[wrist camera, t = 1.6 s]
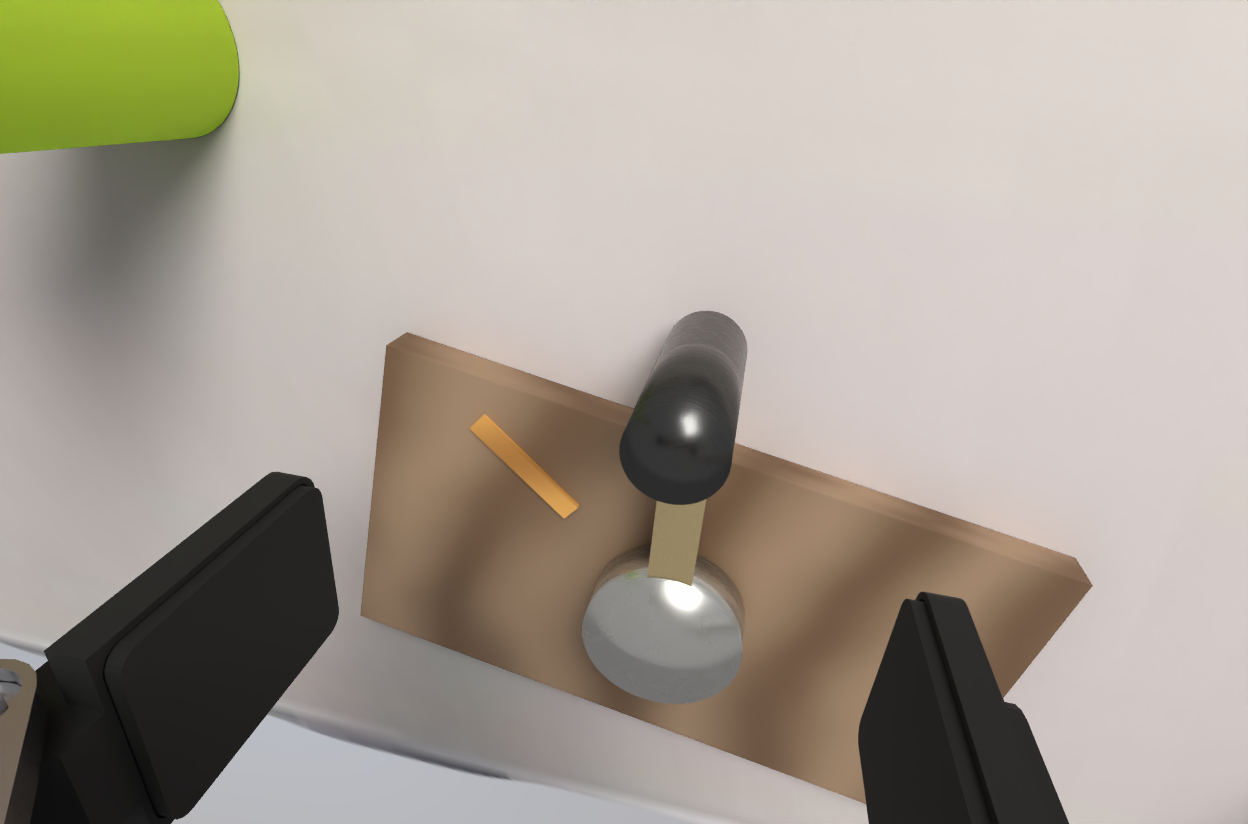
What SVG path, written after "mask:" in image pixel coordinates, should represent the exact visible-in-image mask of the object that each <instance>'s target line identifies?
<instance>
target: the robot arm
mask: <svg viewBox="0 0 1248 824" xmlns="http://www.w3.org/2000/svg"><path fill="white" fill-rule="evenodd" d="M338 615H339V607H338V600H337V593H336V587H335V580H334V573H333V566H332V560H331V553H330V546H329V539H328V533H327V526H326V519H325V512H324V506H323V499H322V494H321V492H320V490H319V489H317V488H315V487H314V484H313V482H312V481H311V479H309V478H307V477H302V476H297V475H292V474H286V473H281V472H271V473H270V474H268V475H266V476H265V477H264V478H262V479H261V480H260V481H259V482H257V483H256V484H255V485H254V486H252V487H251V488H250V489H248V490H247V491H246V492H245V493H243V494H242V495H241V496H240V497H238V498H237V499H236V500H235V501H233V502H232V503H231V504H229V505H228V506H227V507H226V508H224V509H223V510H222V511H221V512H219V513H218V514H217V515H216V516H214V517H213V518H212V519H210V520H209V521H208V522H207V523H205V524H204V525H203V526H202V527H200V528H199V529H198V530H197V531H195V532H194V533H193V534H191V535H190V536H189V537H188V538H186V539H185V540H184V541H183V542H181V543H180V544H179V545H177V546H176V547H175V548H174V549H172V550H171V551H170V552H169V553H167V554H166V555H165V556H164V557H162V558H161V559H160V560H158V561H157V562H156V563H155V564H153V565H152V566H151V567H150V568H148V569H147V570H146V571H145V572H143V573H142V574H141V575H139V576H138V577H137V578H136V579H134V580H133V581H132V582H131V583H129V584H128V585H127V586H126V587H124V588H123V589H122V590H120V591H119V592H118V593H117V594H115V595H114V596H113V597H112V598H110V599H109V600H108V601H107V602H105V603H104V604H103V605H101V606H100V607H99V608H98V609H96V610H95V611H94V612H93V613H91V614H90V615H89V616H88V617H86V618H85V619H84V620H82V621H81V622H80V623H79V624H77V625H76V626H75V627H74V628H72V629H71V630H70V631H68V632H67V633H66V634H65V635H63V636H62V637H61V638H60V639H58V640H57V641H56V642H55V643H53V644H52V645H51V646H49V647H48V648H47V649H46V650H44V652H45V655H46V657H47V659H48V661H47V662H46V663H45V664H43V665H42V666H41V667H40V668H38V669H37V670H36V671H34V669H33V668H32V667H31V666H30V665H29V664H27V663H24V662H21V661H19V660H16V659H0V824H171V823H172V822H173V820H174V819H179V818H182V817H184V816H185V815H187V814H188V813H189V812H190V811H191V810H192V808H194V806H195V805H196V804H197V802H198V801H199V800H200V799H201V797H202V796H203V795H204V793H205V792H206V791H207V790H208V789H209V787H210V786H211V785H212V783H213V782H214V781H215V779H216V778H217V777H218V776H219V775H220V773H221V772H222V771H223V769H224V768H225V767H226V766H227V764H228V763H229V762H230V761H231V759H232V758H233V756H235V754H236V753H237V752H238V750H239V749H240V748H241V746H242V745H243V744H244V743H245V742H246V740H247V739H248V738H249V737H250V735H251V734H252V733H253V731H254V730H255V729H256V728H257V726H258V725H259V724H260V722H261V721H262V720H263V719H264V718H265V716H266V715H267V714H268V712H269V711H270V710H271V709H272V707H273V706H274V705H275V704H276V702H277V701H278V700H279V698H280V697H281V696H282V695H283V693H284V692H285V691H286V690H287V688H288V687H289V686H290V685H291V683H292V682H293V681H294V679H295V678H296V677H297V676H298V674H299V673H300V672H301V671H302V669H303V668H304V667H305V666H306V664H307V663H308V662H309V660H310V659H311V658H312V657H313V655H314V654H315V653H316V652H317V650H318V649H319V648H320V646H321V645H322V644H323V643H324V641H325V640H326V639H327V638H328V636H329V635H330V634H331V632H332V631H333V629H334V627H335V625H336V623H337V620H338ZM858 747H859V754H860V762H861V769H862V776H863V784H864V791H865V798H866V805H867V813H868V820H869V824H1069V822H1068V820H1067V817H1066V815H1065V812H1064V810H1063V807H1062V805H1061V802H1060V800H1059V798H1058V795H1057V793H1056V790H1055V788H1054V785H1053V783H1052V780H1051V778H1050V775H1049V773H1048V771H1047V768H1046V766H1045V763H1044V761H1043V758H1042V756H1041V753H1040V751H1039V748H1038V746H1037V744H1036V741H1035V739H1034V736H1033V734H1032V731H1031V729H1030V726H1029V724H1028V721H1027V719H1026V718H1025V716H1024V714H1023V712H1022V710H1021V709H1020V708H1018V707H1017V706H1016V705H1015V704H1012V703H1007V702H1004V700H1003V698H1002V695H1001V692H1000V690H999V687H998V684H997V682H996V679H995V677H994V674H993V671H992V669H991V666H990V664H989V661H988V658H987V656H986V653H985V650H984V648H983V645H982V643H981V640H980V637H979V635H978V632H977V630H976V627H975V624H974V622H973V619H972V616H971V614H970V611H969V609H968V606H967V604H966V602H965V601H964V600H963V599H961V598H956V597H951V596H945V595H940V594H934V593H929V592H924V591H923V592H920V593H919V594H918V595H917V597H916V599H915V600H912V599H905V600H904V601H903V603H902V605H901V608H900V610H899V613H898V616H897V619H896V622H895V624H894V627H893V630H892V633H891V636H890V638H889V641H888V644H887V647H886V650H885V652H884V655H883V658H882V661H881V664H880V666H879V669H878V672H877V675H876V678H875V680H874V683H873V686H872V689H871V692H870V694H869V697H868V700H867V703H866V706H865V708H864V711H863V714H862V717H861V720H860V724H859V731H858Z"/></svg>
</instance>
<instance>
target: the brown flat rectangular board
mask: <svg viewBox="0 0 1248 824" xmlns="http://www.w3.org/2000/svg"><path fill="white" fill-rule="evenodd" d="M633 411H634V409H632V408H629V407H626V406H623V405H620V404H617V403H614V402H611V401H608V400H605V399H602V398H600V397H597V396H594V395H591V394H588V393H585V392H582V391H579V390H576V389H573V388H570V387H567V386H564V385H561V384H558V383H555V382H552V381H549V380H546V379H543V378H540V377H537V376H534V375H531V374H528V373H525V372H523V371H520V370H517V369H514V368H511V367H508V366H505V365H502V364H499V363H496V362H493V361H490V360H487V359H484V358H481V357H478V356H475V355H472V354H469V353H466V352H463V351H460V350H457V349H454V348H451V347H449V346H446V345H443V344H440V343H437V342H434V341H431V340H428V339H425V338H422V337H419V336H416V335H413V334H410V333H405V334H403V335H402V336H400V337H399V338H397V339H396V340H394V341H393V342H391V343H389V344H388V345H386V355H385V366H384V376H383V387H382V397H381V407H380V418H379V428H378V439H377V449H376V459H375V470H374V480H373V490H372V501H371V511H370V522H369V532H368V542H367V553H366V563H365V574H364V584H363V594H362V605H361V616H364V617H366V618H369V619H372V620H374V621H377V622H380V623H382V624H385V625H388V626H390V627H393V628H396V629H398V630H401V631H404V632H406V633H409V634H412V635H414V636H417V637H420V638H423V639H425V640H428V641H431V642H433V643H436V644H439V645H441V646H444V647H447V648H449V649H452V650H455V651H457V652H460V653H463V654H465V655H468V656H471V657H474V658H476V659H479V660H482V661H484V662H487V663H490V664H492V665H495V666H498V667H500V668H503V669H506V670H508V671H511V672H514V673H516V674H519V675H522V676H525V677H527V678H530V679H533V680H535V681H538V682H541V683H543V684H546V685H549V686H551V687H554V688H557V689H559V690H562V691H565V692H567V693H570V694H573V695H575V696H578V697H581V698H584V699H586V700H589V701H592V702H594V703H597V704H600V705H602V706H605V707H608V708H610V709H613V710H616V711H618V712H621V713H624V714H626V715H629V716H632V717H635V718H637V719H640V720H643V721H645V722H648V723H651V724H653V725H656V726H659V727H661V728H664V729H667V730H669V731H672V732H675V733H677V734H680V735H683V736H685V737H688V738H691V739H694V740H696V741H699V742H702V743H704V744H707V745H710V746H712V747H715V748H718V749H720V750H723V751H726V752H728V753H731V754H734V755H736V756H739V757H742V758H745V759H747V760H750V761H753V762H755V763H758V764H761V765H763V766H766V767H769V768H771V769H774V770H777V771H779V772H782V773H785V774H787V775H790V776H793V777H795V778H798V779H801V780H804V781H806V782H809V783H812V784H814V785H817V786H820V787H822V788H825V789H828V790H830V791H833V792H836V793H838V794H841V795H844V796H846V797H849V798H852V799H855V800H857V801H860V802H863V803H865V804H866V798H865V791H864V784H863V776H862V769H861V762H860V754H859V747H858V731H859V724H860V720H861V717H862V714H863V711H864V708H865V706H866V703H867V700H868V697H869V694H870V692H871V689H872V686H873V683H874V680H875V678H876V675H877V672H878V669H879V666H880V664H881V661H882V658H883V655H884V652H885V650H886V647H887V644H888V641H889V638H890V636H891V633H892V630H893V627H894V624H895V622H896V619H897V616H898V613H899V610H900V608H901V605H902V603H903V601H904V600H905V599H912V600H915V599H916V597H917V595H918V594H919V593H920V592H923V591H924V592H929V593H934V594H940V595H945V596H951V597H956V598H961V599H963V600H964V601H965V602H966V604H967V606H968V609H969V611H970V614H971V616H972V619H973V622H974V624H975V627H976V630H977V632H978V635H979V637H980V640H981V643H982V645H983V648H984V650H985V653H986V656H987V658H988V661H989V664H990V666H991V669H992V671H993V674H994V677H995V679H996V682H997V684H998V687H999V690H1000V692H1001V695H1002V698H1004V697H1005V695H1006V694H1007V693H1008V691H1009V690H1010V689H1011V688H1012V686H1013V685H1014V684H1015V683H1016V681H1017V680H1018V679H1019V678H1020V676H1021V675H1022V674H1023V673H1024V671H1025V670H1026V669H1027V668H1028V666H1029V665H1030V664H1031V663H1032V661H1033V660H1034V659H1035V657H1036V656H1037V655H1038V654H1039V652H1040V651H1041V650H1042V649H1043V647H1044V646H1045V645H1046V644H1047V642H1048V641H1049V640H1050V639H1051V637H1052V636H1053V635H1054V634H1055V632H1056V631H1057V630H1058V629H1059V627H1060V626H1061V625H1062V623H1063V622H1064V621H1065V620H1066V618H1067V617H1068V616H1069V615H1070V613H1071V612H1072V611H1073V610H1074V608H1075V607H1076V606H1077V605H1078V603H1079V602H1080V601H1081V600H1082V598H1083V597H1084V596H1085V594H1086V593H1087V592H1088V591H1089V589H1090V588H1091V587H1092V586H1093V585H1092V584H1091V582H1090V581H1089V579H1088V577H1087V576H1086V574H1085V573H1084V571H1083V569H1082V568H1081V566H1080V564H1079V563H1078V561H1077V560H1076V558H1073V557H1070V556H1067V555H1064V554H1061V553H1059V552H1056V551H1053V550H1050V549H1047V548H1044V547H1041V546H1038V545H1035V544H1032V543H1029V542H1026V541H1023V540H1020V539H1017V538H1014V537H1011V536H1008V535H1005V534H1002V533H999V532H996V531H993V530H990V529H987V528H984V527H982V526H979V525H976V524H973V523H970V522H967V521H964V520H961V519H958V518H955V517H952V516H949V515H946V514H943V513H940V512H937V511H934V510H931V509H928V508H925V507H922V506H919V505H916V504H913V503H910V502H907V501H905V500H902V499H899V498H896V497H893V496H890V495H887V494H884V493H881V492H878V491H875V490H872V489H869V488H866V487H863V486H860V485H857V484H854V483H851V482H848V481H845V480H842V479H839V478H836V477H833V476H831V475H828V474H825V473H822V472H819V471H816V470H813V469H810V468H807V467H804V466H801V465H798V464H795V463H792V462H789V461H786V460H783V459H780V458H777V457H774V456H771V455H768V454H765V453H762V452H759V451H756V450H754V449H751V448H748V447H745V446H742V445H739V444H736V443H734V450H733V457H732V464H731V469H730V473H729V476H728V478H727V480H726V482H725V483H724V485H723V486H722V487H721V488H720V489H719V490H718V491H717V492H716V493H715V494H714V495H712V496H711V497H709V498H707V501H706V507H705V513H704V519H703V525H702V531H701V537H700V543H699V549H698V554H699V555H701V556H703V557H705V558H707V559H708V560H710V561H712V562H713V563H715V564H716V565H717V566H718V567H720V568H721V569H722V570H723V571H724V572H725V573H726V574H727V575H728V576H729V577H730V578H731V579H732V581H733V582H734V583H735V585H736V587H737V588H738V590H739V592H740V594H741V597H742V600H743V604H744V609H745V621H744V634H743V648H742V658H741V664H740V667H739V670H738V672H737V674H736V676H735V678H734V679H733V680H732V681H731V683H730V684H729V685H728V686H727V687H726V688H725V689H723V690H722V691H720V692H719V693H717V694H716V695H714V696H712V697H710V698H707V699H704V700H701V701H697V702H692V703H684V704H668V703H660V702H654V701H650V700H647V699H643V698H640V697H638V696H635V695H633V694H630V693H628V692H626V691H624V690H623V689H621V688H619V687H618V686H616V685H615V684H613V683H612V682H611V681H610V680H608V679H607V678H606V677H605V676H604V675H603V674H602V673H601V672H600V671H599V670H598V669H597V668H596V666H595V665H594V664H593V662H592V661H591V659H590V658H589V656H588V653H587V651H586V649H585V646H584V643H583V637H582V624H583V619H584V616H585V613H586V610H587V608H588V605H589V602H590V600H591V597H592V594H593V592H594V589H595V587H596V584H597V581H598V579H599V577H600V575H601V573H602V571H603V570H604V569H605V567H606V566H607V565H608V564H609V563H610V562H611V561H612V560H613V559H615V558H616V557H618V556H619V555H621V554H623V553H625V552H627V551H630V550H633V549H636V548H640V547H645V546H651V543H652V535H653V527H654V519H655V511H656V503H657V500H654V499H652V498H650V497H648V496H647V495H645V494H643V493H642V492H641V491H639V490H638V489H637V488H636V487H635V486H634V485H633V484H632V483H631V481H630V480H629V479H628V477H627V476H626V474H625V472H624V470H623V468H622V465H621V461H620V455H619V446H620V440H621V437H622V434H623V432H624V430H625V428H626V426H627V424H628V422H629V420H630V417H631V415H632V413H633Z"/></svg>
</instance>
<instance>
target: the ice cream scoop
mask: <svg viewBox="0 0 1248 824" xmlns="http://www.w3.org/2000/svg"><path fill="white" fill-rule="evenodd" d="M746 358H747V342H746V339H745V336H744V334H743V332H742V330H741V329H740V327H739V326H738V325H737V324H736V323H735V322H734V321H733V320H732V319H730V318H729V317H727V316H725V315H723V314H721V313H718V312H713V311H699V312H695V313H691V314H689V315H687V316H685V317H684V318H682V319H681V320H680V321H678V322H677V324H676V325H675V326H674V327H673V329H672V330H671V332H670V334H669V336H668V339H667V341H666V343H665V345H664V347H663V349H662V351H661V353H660V356H659V358H658V360H657V362H656V364H655V366H654V368H653V371H652V373H651V375H650V377H649V379H648V381H647V383H646V385H645V388H644V390H643V392H642V394H641V396H640V398H639V400H638V402H637V405H636V407H635V409H634V411H633V413H632V415H631V417H630V420H629V422H628V424H627V426H626V428H625V430H624V432H623V434H622V437H621V440H620V446H619V455H620V461H621V465H622V468H623V470H624V472H625V474H626V476H627V477H628V479H629V480H630V481H631V483H632V484H633V485H634V486H635V487H636V488H637V489H638V490H639V491H641V492H642V493H643V494H645V495H647V496H648V497H650V498H652V499H654V500H657V503H656V511H655V519H654V527H653V535H652V543H651V546H645V547H640V548H636V549H633V550H630V551H627V552H625V553H623V554H621V555H619V556H618V557H616V558H615V559H613V560H612V561H611V562H610V563H609V564H608V565H607V566H606V567H605V569H604V570H603V571H602V573H601V575H600V577H599V579H598V581H597V584H596V587H595V589H594V592H593V594H592V597H591V600H590V602H589V605H588V608H587V610H586V613H585V616H584V619H583V624H582V637H583V643H584V646H585V649H586V651H587V653H588V656H589V658H590V659H591V661H592V662H593V664H594V665H595V666H596V668H597V669H598V670H599V671H600V672H601V673H602V674H603V675H604V676H605V677H606V678H607V679H608V680H610V681H611V682H612V683H613V684H615V685H616V686H618V687H619V688H621V689H623V690H624V691H626V692H628V693H630V694H633V695H635V696H638V697H640V698H643V699H647V700H650V701H654V702H660V703H668V704H684V703H692V702H697V701H701V700H704V699H707V698H710V697H712V696H714V695H716V694H717V693H719V692H720V691H722V690H723V689H725V688H726V687H727V686H728V685H729V684H730V683H731V681H732V680H733V679H734V678H735V676H736V674H737V672H738V670H739V667H740V664H741V658H742V648H743V634H744V621H745V609H744V604H743V600H742V597H741V594H740V592H739V590H738V588H737V587H736V585H735V583H734V582H733V581H732V579H731V578H730V577H729V576H728V575H727V574H726V573H725V572H724V571H723V570H722V569H721V568H720V567H718V566H717V565H716V564H715V563H713V562H712V561H710V560H708V559H707V558H705V557H703V556H701V555H699V554H698V549H699V543H700V537H701V531H702V525H703V519H704V513H705V507H706V501H707V498H709V497H711V496H712V495H714V494H715V493H716V492H717V491H718V490H719V489H720V488H721V487H722V486H723V485H724V483H725V482H726V480H727V478H728V476H729V473H730V469H731V464H732V457H733V450H734V443H735V436H736V429H737V422H738V415H739V408H740V401H741V393H742V386H743V379H744V372H745V365H746Z"/></svg>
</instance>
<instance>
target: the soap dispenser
mask: <svg viewBox="0 0 1248 824" xmlns="http://www.w3.org/2000/svg"><path fill="white" fill-rule="evenodd" d="M238 80H239V65H238V55H237V49H236V44H235V40H234V37H233V33H232V30H231V27H230V25H229V22H228V20H227V17H226V15H225V13H224V11H223V9H222V7H221V5H220V4H219V2H218V0H0V154H4V153H16V152H29V151H41V150H53V149H65V148H78V147H90V146H102V145H114V144H127V143H139V142H151V141H163V140H176V139H188V138H196V137H200V136H203V135H206V134H208V133H210V132H211V131H213V130H214V129H216V128H217V127H218V126H219V125H220V124H221V123H222V122H223V121H224V120H225V118H226V117H227V116H228V114H229V112H230V110H231V108H232V106H233V104H234V101H235V97H236V93H237V88H238Z"/></svg>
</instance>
